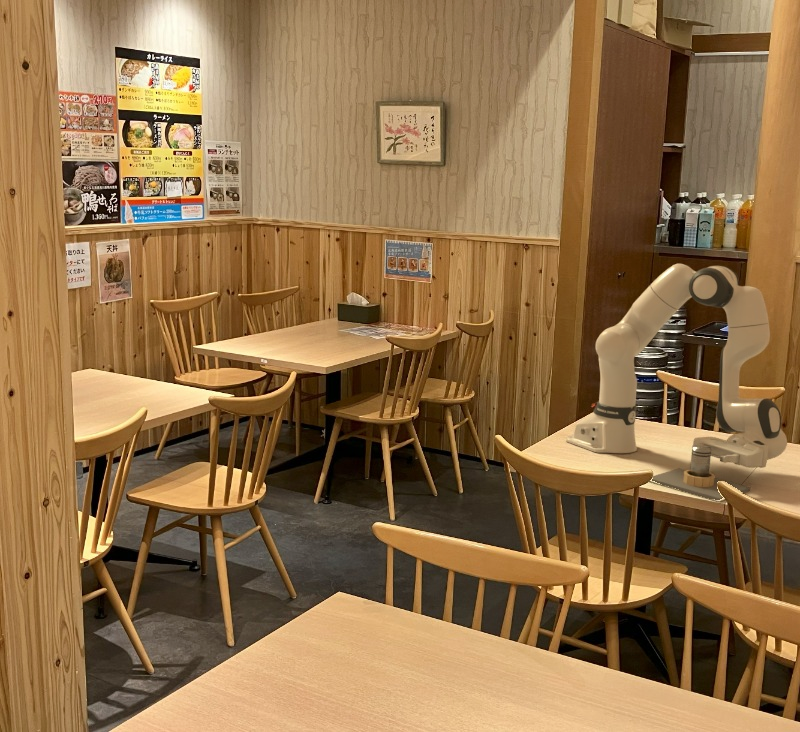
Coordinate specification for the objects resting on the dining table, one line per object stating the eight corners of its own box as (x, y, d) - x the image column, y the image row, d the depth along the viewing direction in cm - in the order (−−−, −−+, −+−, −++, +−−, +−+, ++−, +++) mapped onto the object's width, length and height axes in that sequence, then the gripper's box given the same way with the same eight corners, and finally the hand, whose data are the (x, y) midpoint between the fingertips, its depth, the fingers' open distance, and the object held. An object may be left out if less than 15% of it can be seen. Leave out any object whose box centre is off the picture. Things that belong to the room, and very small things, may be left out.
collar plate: (647, 481, 269) (648, 469, 268) (678, 471, 279) (679, 459, 279) (719, 502, 253) (720, 489, 252) (749, 490, 263) (751, 478, 263)
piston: (685, 481, 266) (688, 446, 264) (695, 478, 269) (698, 443, 267) (701, 486, 262) (705, 450, 260) (711, 483, 266) (715, 447, 264)
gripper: (713, 429, 281) (680, 434, 274) (772, 446, 264) (739, 452, 257) (711, 450, 282) (678, 456, 275) (770, 469, 265) (737, 475, 258)
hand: (708, 454), depth 266 cm, fingers open, 8 cm apart
